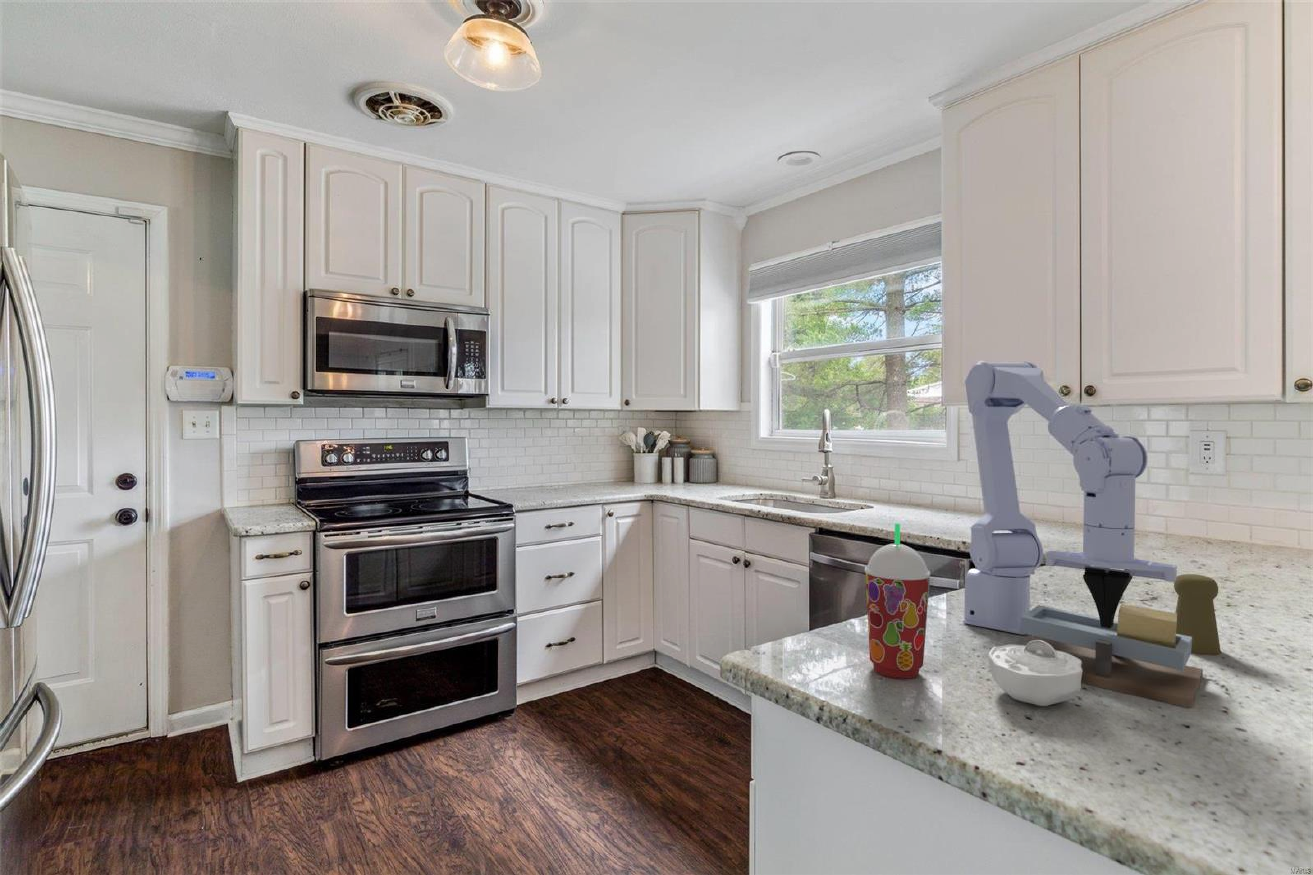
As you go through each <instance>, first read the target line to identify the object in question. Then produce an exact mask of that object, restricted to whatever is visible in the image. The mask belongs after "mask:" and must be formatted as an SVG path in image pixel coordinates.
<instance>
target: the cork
mask: <svg viewBox="0 0 1313 875" xmlns="http://www.w3.org/2000/svg"><path fill="white" fill-rule="evenodd" d="M1173 588H1174V590H1175V593H1176V594H1177V595H1178V596H1177V602H1176V606H1175V612H1174V613H1177V626H1176V634H1180V635H1185V636H1190V637H1192V647H1191V654H1197V655H1206V656H1218V655H1221V653H1222V652H1221V651H1222V649H1221V644H1220V638H1219V631H1218V623H1217V618H1216V611H1215V609H1216V608H1215V605H1214V599H1216V598H1217V596H1218V595H1219V586H1218V583H1217V581H1216V580H1215V579H1214V578H1212V577H1210V576H1206V575H1202V574H1198V573H1197V574H1196V573H1183V574H1179V575H1177V580H1176V581H1175V582H1173Z"/></svg>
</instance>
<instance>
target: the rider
mask: <svg viewBox="0 0 1313 875" xmlns="http://www.w3.org/2000/svg"><path fill="white" fill-rule="evenodd" d="M1117 622H1118V627H1117V636H1120V637H1124V638H1129V639H1133V640H1138V641H1143V642H1147V643H1152V644H1156V645H1161V646H1165V647H1170V648H1174V649H1175V639H1176V626H1177V613H1175V612H1170V611H1166V610H1165V611H1164V610H1159V609H1155V608H1154V609H1153V608H1147V607H1142V606H1136V605H1129V604H1124V603H1121V604H1120V606H1119V609H1118V614H1117Z"/></svg>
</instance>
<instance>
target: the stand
mask: <svg viewBox="0 0 1313 875" xmlns="http://www.w3.org/2000/svg"><path fill="white" fill-rule="evenodd" d="M1033 640H1042V641H1045V642H1047V643H1048V644H1050V645H1051V646H1052V647H1053V648H1054V650H1057V651H1062V652H1065V653H1068V654H1070V655H1072V656H1075V657H1077V658H1078V659H1080V660H1081V661H1082V664H1081V668H1082V670H1083V671H1082V677H1081V684H1085V685H1090V686H1094V687H1098V688H1103V689H1107V690H1111V691H1116V692H1120V693H1124V694H1129V695H1132V696H1137V697H1142V698H1146V699H1150V700H1154V701H1159V702H1162V703H1166V704H1170V705H1171V704H1172V705H1176V706H1180V707H1185V708H1188V709H1192V707H1193V704H1194V700H1195V698H1196V695H1197V693H1198V690H1199V687H1200V686H1201V685H1200V684H1201V682H1202V680H1203V676H1204V674H1203V673H1204V669H1203V668H1200V667H1196V666H1190V665H1185V668H1184V670H1183V671H1180V670H1176V669H1172V668H1168V667H1164V666H1159V665H1155V664H1151V663H1147V662H1143V661H1138V660H1134V659H1130V658H1126V657H1121V656H1117V655H1113V654H1112V642H1107V641H1102V640H1096V649H1095V650H1092V649H1088V648H1084V647H1079V646H1075V645H1071V644H1067V643H1063V642H1058V641H1054V640H1050V639H1046V638H1042V637H1037V636H1033V637H1031V638H1030V639H1029V640H1028V641H1027V642H1025V643H1024V644H1023V645H1024V646H1026V645H1027V644H1028V643H1029V642H1030V641H1033Z"/></svg>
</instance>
